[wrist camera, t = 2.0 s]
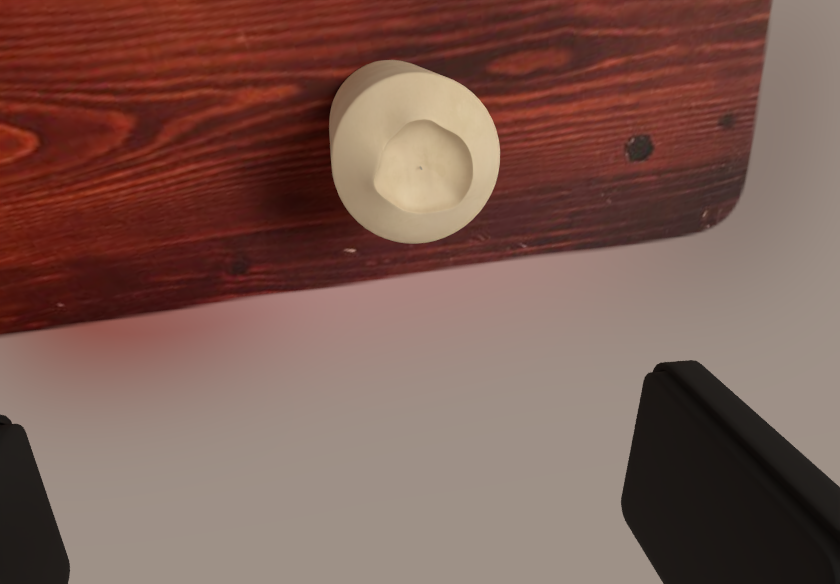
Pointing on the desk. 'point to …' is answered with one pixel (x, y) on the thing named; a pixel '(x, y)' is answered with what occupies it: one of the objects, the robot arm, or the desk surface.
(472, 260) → the desk surface
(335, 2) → the desk surface
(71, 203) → the desk surface
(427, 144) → the candle
